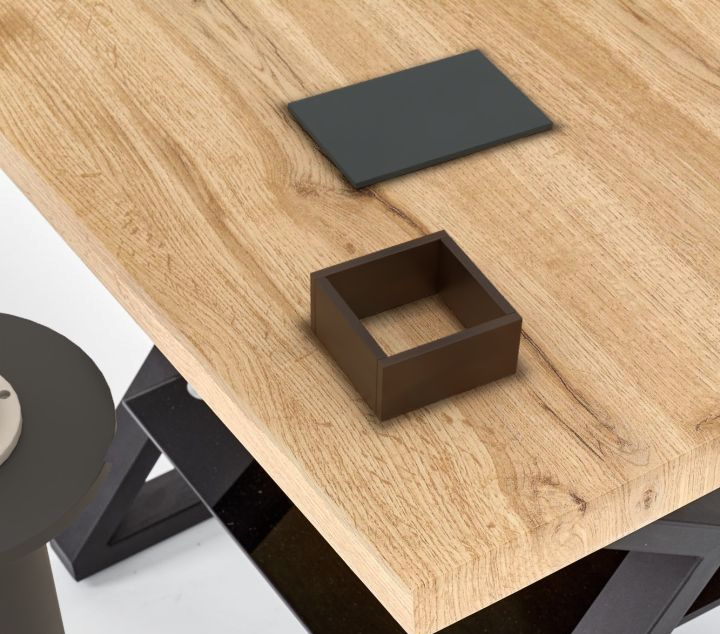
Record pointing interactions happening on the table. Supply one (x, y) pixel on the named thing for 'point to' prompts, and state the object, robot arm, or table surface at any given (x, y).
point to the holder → (425, 362)
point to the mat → (418, 117)
